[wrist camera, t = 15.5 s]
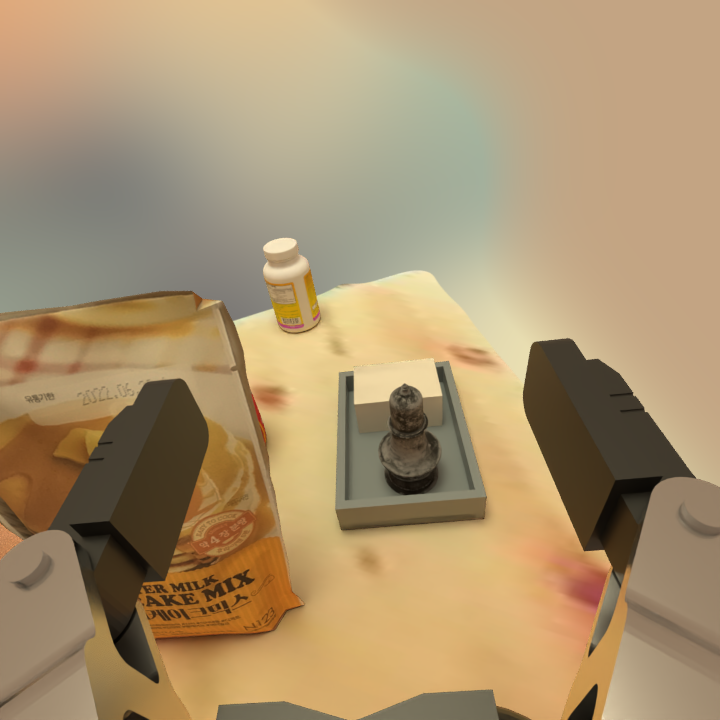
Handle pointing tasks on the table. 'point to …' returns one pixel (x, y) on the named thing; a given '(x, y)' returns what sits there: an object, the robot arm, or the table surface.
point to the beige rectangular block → (383, 379)
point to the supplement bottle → (290, 286)
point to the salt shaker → (409, 445)
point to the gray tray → (366, 473)
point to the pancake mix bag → (104, 402)
